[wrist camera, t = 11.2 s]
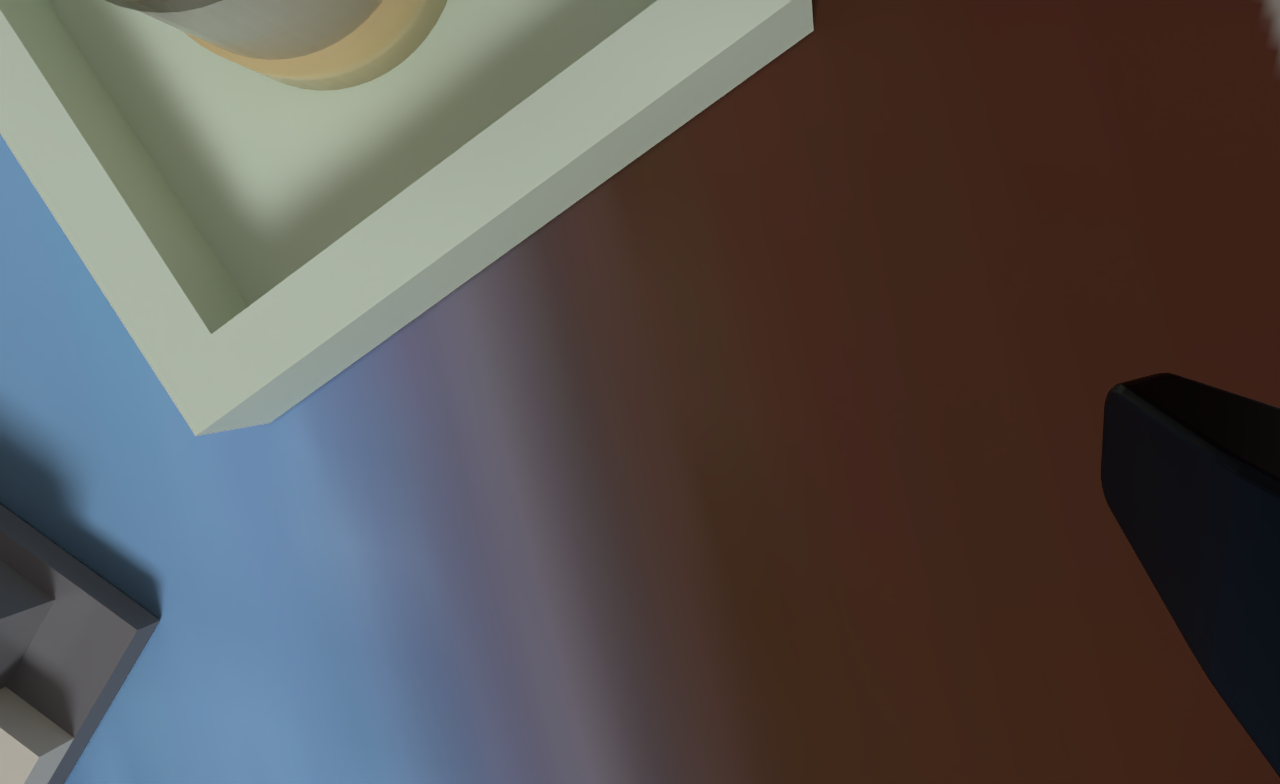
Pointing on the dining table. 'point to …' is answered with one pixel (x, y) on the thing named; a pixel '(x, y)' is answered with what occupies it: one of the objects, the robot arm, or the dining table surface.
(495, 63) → the parts tray
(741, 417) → the dining table surface
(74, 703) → the fuse block
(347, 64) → the beige round cylinder
